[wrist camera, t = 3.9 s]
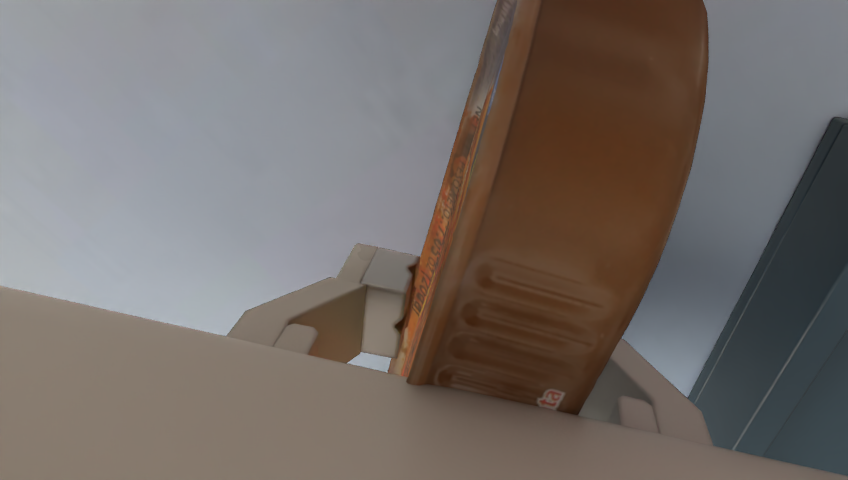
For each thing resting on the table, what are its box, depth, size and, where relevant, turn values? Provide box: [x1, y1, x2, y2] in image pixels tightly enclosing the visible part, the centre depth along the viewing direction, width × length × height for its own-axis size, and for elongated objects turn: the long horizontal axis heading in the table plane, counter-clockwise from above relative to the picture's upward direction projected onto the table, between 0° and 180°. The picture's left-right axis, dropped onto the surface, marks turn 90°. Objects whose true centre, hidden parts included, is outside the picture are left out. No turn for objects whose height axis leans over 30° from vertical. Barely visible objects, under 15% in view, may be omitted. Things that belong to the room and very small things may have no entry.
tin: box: [388, 0, 708, 415], centre depth 12 cm, size 15×3×8 cm, turn 165°
